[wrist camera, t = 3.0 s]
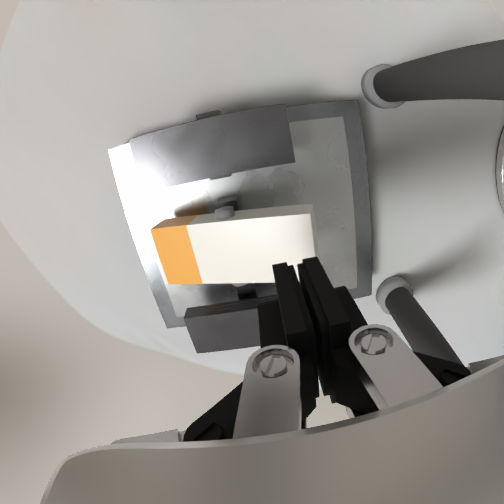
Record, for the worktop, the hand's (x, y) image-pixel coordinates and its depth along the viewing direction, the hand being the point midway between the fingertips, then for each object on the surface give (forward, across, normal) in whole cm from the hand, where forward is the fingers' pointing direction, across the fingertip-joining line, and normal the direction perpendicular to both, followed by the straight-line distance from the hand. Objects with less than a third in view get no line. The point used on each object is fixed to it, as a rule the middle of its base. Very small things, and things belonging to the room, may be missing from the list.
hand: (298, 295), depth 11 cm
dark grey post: (+11, -10, -8) cm, 17 cm away
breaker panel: (+11, +2, 0) cm, 11 cm away
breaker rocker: (+6, +3, 0) cm, 6 cm away
